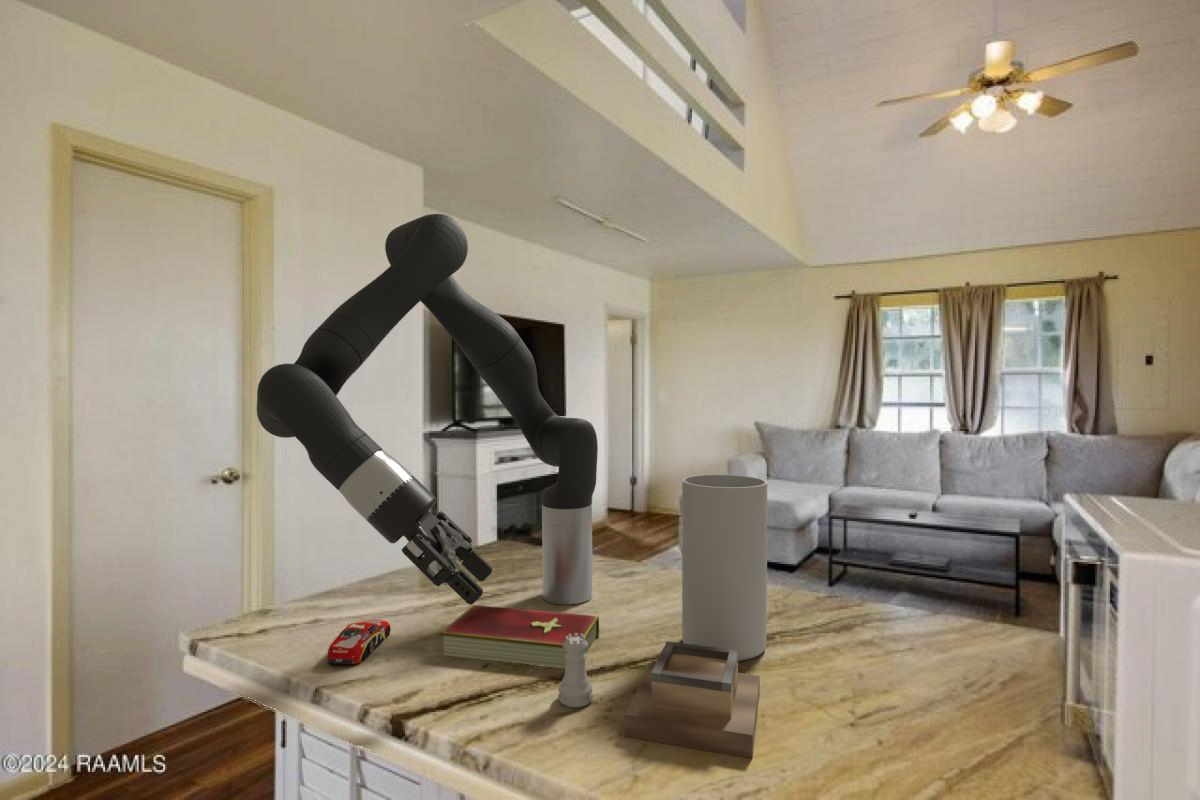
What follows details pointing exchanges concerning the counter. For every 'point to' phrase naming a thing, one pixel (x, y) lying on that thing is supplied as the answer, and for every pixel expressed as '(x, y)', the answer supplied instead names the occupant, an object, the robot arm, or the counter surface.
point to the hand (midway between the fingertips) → (483, 586)
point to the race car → (358, 641)
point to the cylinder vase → (724, 563)
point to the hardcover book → (516, 635)
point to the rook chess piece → (575, 674)
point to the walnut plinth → (695, 723)
